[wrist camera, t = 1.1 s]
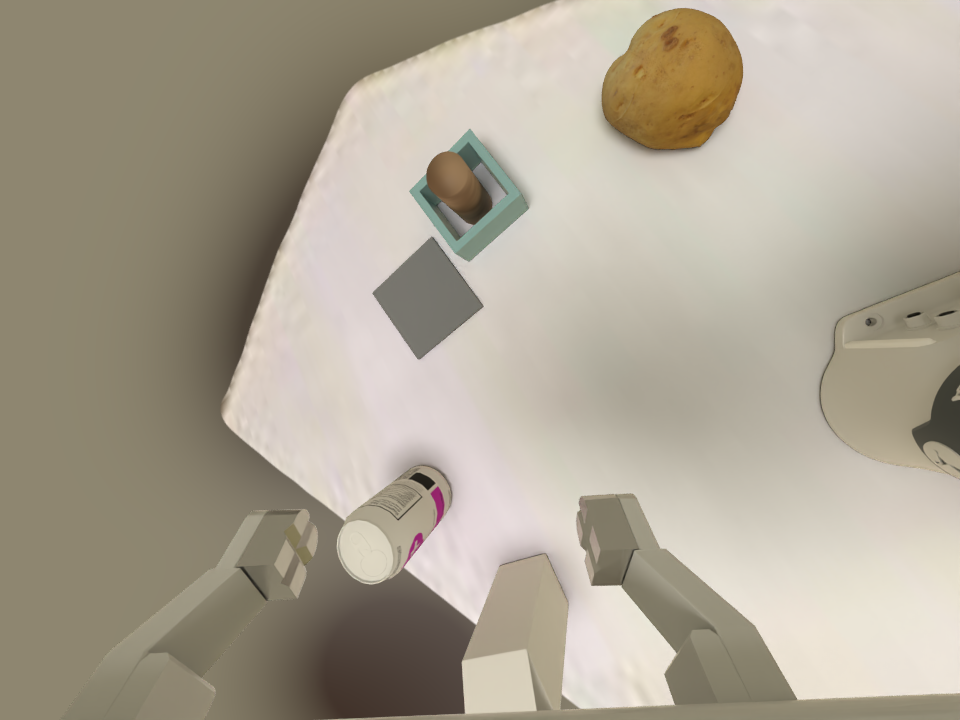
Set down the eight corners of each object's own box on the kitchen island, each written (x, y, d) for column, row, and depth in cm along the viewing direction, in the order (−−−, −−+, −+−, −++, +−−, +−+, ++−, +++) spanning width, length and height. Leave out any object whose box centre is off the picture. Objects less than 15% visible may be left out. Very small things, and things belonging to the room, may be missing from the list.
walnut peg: (478, 181, 46) (449, 141, 36) (499, 207, 45) (474, 174, 36) (453, 206, 47) (418, 174, 37) (472, 231, 46) (442, 205, 37)
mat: (433, 237, 48) (431, 236, 48) (483, 306, 47) (482, 306, 46) (374, 293, 52) (372, 293, 51) (419, 359, 50) (417, 359, 50)
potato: (691, 179, 39) (724, 129, 29) (586, 141, 42) (585, 84, 32) (746, 83, 37) (800, -5, 27) (631, 50, 39) (645, -40, 30)
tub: (482, 150, 45) (469, 128, 40) (528, 208, 44) (521, 193, 39) (427, 205, 48) (409, 191, 43) (468, 261, 47) (455, 253, 42)
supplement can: (464, 498, 50) (413, 565, 35) (425, 528, 52) (363, 603, 38) (428, 453, 51) (365, 499, 37) (392, 484, 53) (319, 540, 39)
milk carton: (499, 565, 49) (445, 701, 31) (546, 552, 47) (517, 691, 29) (520, 613, 48) (479, 781, 30) (569, 603, 46) (555, 776, 28)
